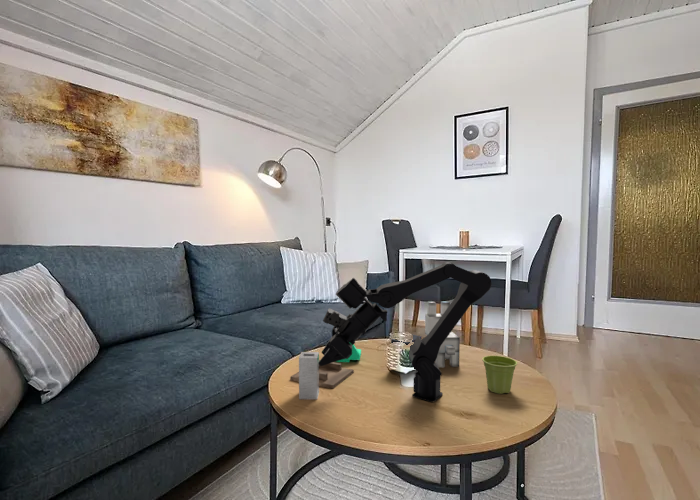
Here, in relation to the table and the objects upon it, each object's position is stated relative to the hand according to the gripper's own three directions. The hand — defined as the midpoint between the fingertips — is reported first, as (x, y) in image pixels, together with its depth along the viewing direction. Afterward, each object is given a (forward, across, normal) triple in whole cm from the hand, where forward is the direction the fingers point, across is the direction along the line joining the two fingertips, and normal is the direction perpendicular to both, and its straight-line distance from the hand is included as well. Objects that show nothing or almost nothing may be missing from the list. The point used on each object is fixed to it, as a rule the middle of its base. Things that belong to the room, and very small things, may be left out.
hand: (321, 359), depth 107 cm
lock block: (+10, 0, +5) cm, 11 cm away
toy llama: (-21, -29, +36) cm, 51 cm away
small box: (-12, -22, +26) cm, 36 cm away
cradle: (+8, -14, +7) cm, 17 cm away
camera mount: (+4, -31, +11) cm, 34 cm away
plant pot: (-29, -5, +43) cm, 52 cm away
